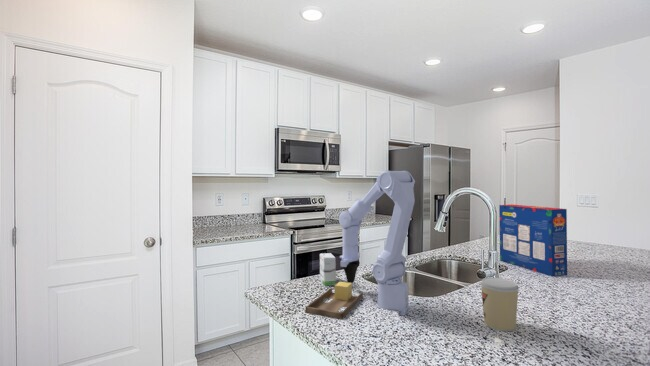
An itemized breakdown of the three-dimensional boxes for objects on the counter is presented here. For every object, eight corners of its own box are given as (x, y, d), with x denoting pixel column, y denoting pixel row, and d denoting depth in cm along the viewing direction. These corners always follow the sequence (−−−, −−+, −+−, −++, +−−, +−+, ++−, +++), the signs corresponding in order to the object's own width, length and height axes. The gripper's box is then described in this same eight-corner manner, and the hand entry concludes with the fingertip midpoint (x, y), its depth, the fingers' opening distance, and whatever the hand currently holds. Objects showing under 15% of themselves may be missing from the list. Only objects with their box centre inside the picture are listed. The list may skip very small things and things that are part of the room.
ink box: (336, 287, 123) (336, 257, 123) (324, 288, 122) (323, 258, 122) (331, 281, 132) (331, 252, 132) (319, 282, 131) (319, 253, 131)
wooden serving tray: (363, 300, 110) (362, 292, 110) (342, 323, 93) (342, 313, 93) (330, 295, 115) (330, 288, 115) (305, 316, 98) (305, 307, 98)
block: (351, 296, 111) (351, 283, 111) (347, 300, 107) (347, 287, 107) (339, 294, 113) (339, 281, 113) (334, 298, 109) (334, 285, 109)
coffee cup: (485, 315, 97) (485, 275, 97) (521, 323, 91) (521, 281, 91) (477, 326, 90) (476, 283, 89) (515, 336, 84) (515, 290, 84)
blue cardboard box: (567, 275, 136) (566, 209, 135) (552, 276, 134) (551, 209, 134) (513, 259, 163) (512, 204, 163) (499, 260, 161) (499, 205, 161)
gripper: (347, 240, 125) (347, 275, 125) (332, 247, 112) (332, 286, 112) (364, 241, 122) (365, 277, 122) (351, 249, 109) (351, 289, 109)
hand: (350, 281), depth 117 cm, fingers closed
